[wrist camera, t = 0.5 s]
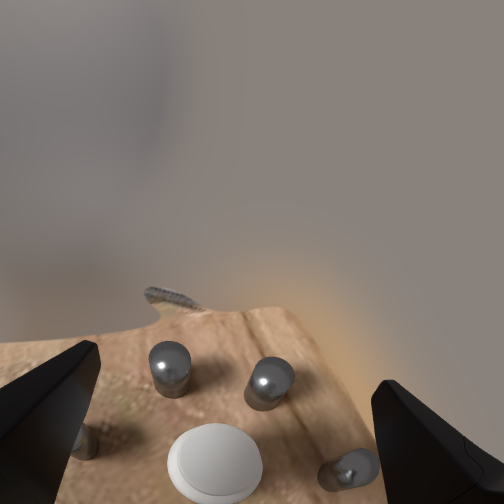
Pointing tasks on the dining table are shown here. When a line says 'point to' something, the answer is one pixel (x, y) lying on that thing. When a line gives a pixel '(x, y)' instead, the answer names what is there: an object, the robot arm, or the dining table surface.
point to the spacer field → (257, 397)
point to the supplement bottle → (215, 464)
